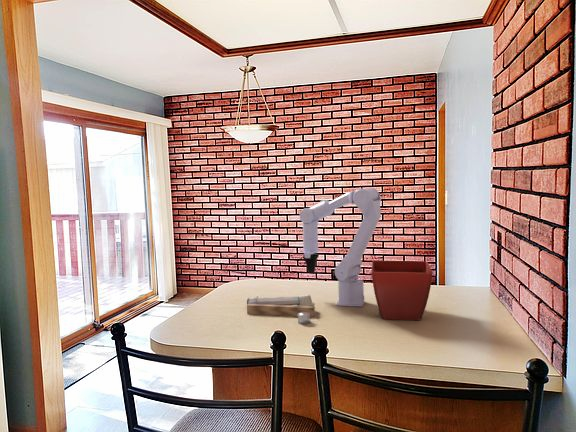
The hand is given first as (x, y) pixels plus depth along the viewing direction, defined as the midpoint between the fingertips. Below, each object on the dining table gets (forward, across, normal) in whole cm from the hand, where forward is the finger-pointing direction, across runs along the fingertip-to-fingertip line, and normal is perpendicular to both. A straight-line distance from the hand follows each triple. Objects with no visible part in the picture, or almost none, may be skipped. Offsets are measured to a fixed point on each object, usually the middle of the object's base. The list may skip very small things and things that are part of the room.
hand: (311, 273), depth 179 cm
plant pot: (+10, +17, +34) cm, 39 cm away
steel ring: (+10, +30, +3) cm, 32 cm away
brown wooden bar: (+10, +22, -7) cm, 26 cm away
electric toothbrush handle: (+10, +17, -8) cm, 22 cm away
